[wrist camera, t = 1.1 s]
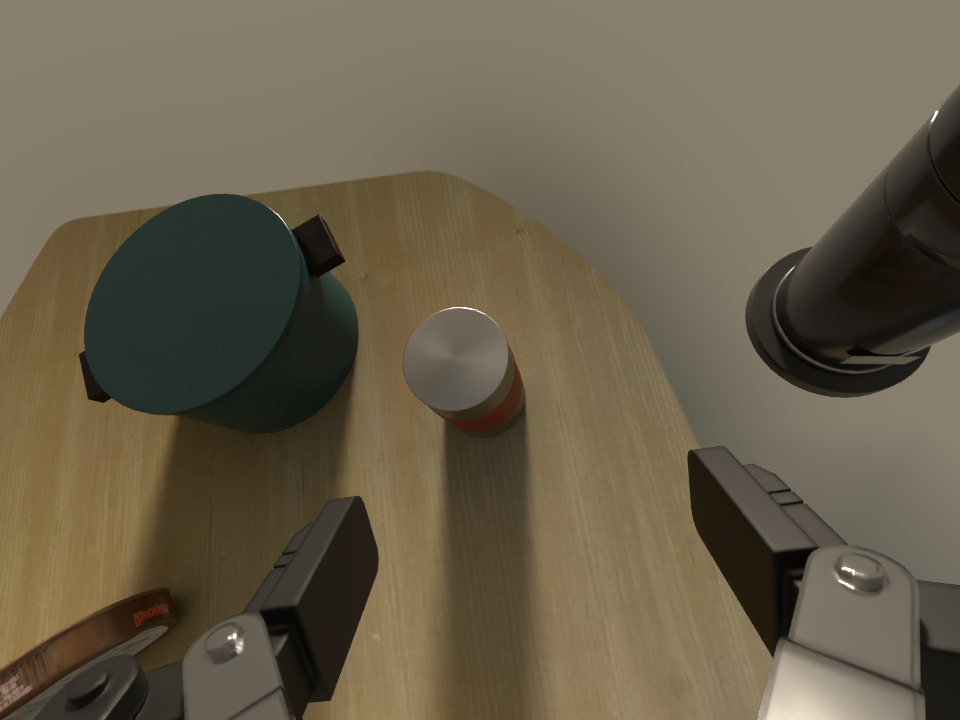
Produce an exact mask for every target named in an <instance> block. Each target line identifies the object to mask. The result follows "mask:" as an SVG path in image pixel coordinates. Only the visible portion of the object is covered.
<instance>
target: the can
mask: <svg viewBox="0 0 960 720" xmlns="http://www.w3.org/2000/svg"><path fill="white" fill-rule="evenodd" d="M403 371H404V376H405V379H406V382H407V384H408V386H409V388H410V389H411V391H412V392H413V393H414V395H415V396H416V397H417V398H418V399H419V400H420V401H422V402H423V403H424V404H426V405H427V406H428V407H430V408H431V409H432V410H433V411H434V412H435V413H437V414H438V415H439V416H441V417H442V418H443V419H445V420H446V421H447V422H449V423H450V424H452V425H453V426H455V427H457V428H458V429H459V430H461V431H462V432H464V433H466V434H468V435H471V436H475V437H491V436H495V435H498V434H500V433H502V432H504V431H506V430H507V429H509V428H510V427H511V426H512V425H513V424H514V423H515V422H516V421H517V419H518V418H519V416H520V414H521V412H522V410H523V407H524V402H525V390H524V385H523V382H522V379H521V376H520V372H519V369H518V367H517V364H516V361H515V359H514V356H513V353H512V351H511V349H510V347H509V345H508V342H507V340H506V337H505V335H504V333H503V331H502V329H501V328H500V327H499V325H498V324H497V323H496V322H495V321H494V320H493V319H492V318H490V317H489V316H488V315H486V314H484V313H482V312H480V311H478V310H474V309H471V308H460V307H457V308H449V309H445V310H442V311H439V312H437V313H435V314H433V315H431V316H429V317H428V318H426V319H425V320H424V321H423V322H421V323H420V324H419V325H418V326H417V328H416V329H415V330H414V331H413V333H412V334H411V336H410V338H409V339H408V342H407V344H406V347H405V351H404V356H403Z"/></svg>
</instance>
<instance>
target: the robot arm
mask: <svg viewBox="0 0 960 720" xmlns="http://www.w3.org/2000/svg"><path fill="white" fill-rule="evenodd" d="M770 318H771V323H772V326H773V329H774V331H775V333H776V335H777V337H778V338H779V340H780V341H781V343H782V344H783V345H784V347H785V348H786V349H787V350H788V351H789V352H790V353H791V354H793V355H794V356H795V357H796V358H798V359H799V360H800V361H802V362H804V363H805V364H807V365H809V366H811V367H813V368H815V369H818V370H820V371H824V372H827V373H831V374H836V375H844V376H858V375H865V374H870V373H874V372H877V371H880V370H882V369H884V368H887V367H889V366H891V365H893V364H906V363H909V362H911V361H913V360H915V359H918V358H920V357H907V356H909V355H911V354H913V353H915V352H918V351H920V350H922V349H924V348H926V347H928V346H931V345H933V344H935V343H937V342H939V341H941V340H943V339H946V338H948V337H950V336H952V335H954V334H956V333H958V332H960V85H959V86H958V87H957V88H956V89H955V90H954V91H953V92H952V93H951V95H950V96H949V97H948V98H947V99H946V100H945V101H944V103H943V104H942V105H941V106H940V107H939V108H938V109H937V111H936V112H935V113H934V114H933V115H932V116H931V117H930V118H929V119H928V120H927V122H926V123H925V124H924V125H923V126H922V127H921V128H920V129H919V130H918V131H917V133H916V134H915V135H914V136H913V137H912V138H911V139H910V141H908V143H907V144H906V145H905V146H904V147H903V148H902V149H901V151H900V152H899V153H898V154H897V155H896V156H895V157H894V159H893V160H892V161H891V162H890V163H889V164H888V165H887V166H886V167H885V168H884V169H883V170H882V172H881V173H880V174H879V175H878V176H877V177H876V178H875V179H874V180H873V181H872V183H871V184H870V185H869V186H868V187H867V188H866V189H865V190H864V191H863V192H862V194H861V195H860V196H859V197H858V198H857V199H856V200H855V201H854V202H853V203H852V205H851V206H850V207H849V208H848V209H847V210H846V211H845V212H844V213H843V214H842V216H841V217H840V218H839V219H838V220H837V221H836V222H835V223H834V224H833V225H832V227H831V228H830V229H829V230H828V231H827V232H826V233H825V234H824V235H823V236H822V238H821V239H820V240H819V241H818V242H817V243H816V244H815V245H814V246H813V247H812V249H811V250H810V251H809V252H808V253H807V254H806V255H805V256H804V257H803V258H802V259H801V260H800V261H799V263H798V264H797V265H796V266H795V267H793V268H792V269H791V270H790V271H789V272H788V273H787V274H786V275H785V276H784V277H783V278H782V279H781V281H780V282H779V283H778V284H777V286H776V288H775V290H774V292H773V294H772V297H771V302H770ZM688 473H689V486H690V499H691V510H692V516H693V520H694V523H695V526H696V529H697V532H698V534H699V536H700V537H701V539H702V541H703V542H704V544H705V546H706V547H707V549H708V551H709V552H710V554H711V556H712V557H713V559H714V561H715V562H716V564H717V566H718V567H719V569H720V571H721V572H722V574H723V576H724V577H725V579H726V581H727V582H728V584H729V586H730V587H731V589H732V591H733V592H734V594H735V596H736V597H737V599H738V601H739V602H740V604H741V606H742V607H743V609H744V611H745V612H746V614H747V616H748V617H749V619H750V621H751V622H752V624H753V626H754V627H755V629H756V631H757V632H758V634H759V636H760V637H761V639H762V641H763V642H764V644H765V646H766V647H767V649H768V651H769V652H770V654H771V656H772V657H773V661H772V665H771V669H770V673H769V676H768V680H767V684H766V688H765V691H764V695H763V699H762V703H761V706H760V710H759V714H758V718H757V720H960V585H953V584H944V583H935V582H927V581H921V580H916V579H915V578H914V576H913V575H912V574H911V573H910V572H909V571H908V570H907V569H906V568H905V567H904V566H902V565H901V564H899V563H898V562H896V561H895V560H893V559H891V558H889V557H887V556H885V555H883V554H881V553H878V552H875V551H873V550H870V549H866V548H862V547H857V546H851V545H848V544H847V543H846V542H845V541H844V540H843V539H842V538H841V537H840V536H839V535H838V534H837V533H836V532H835V531H834V530H833V529H832V528H831V527H830V526H829V525H828V524H827V523H826V522H824V521H823V520H822V519H821V518H820V517H819V516H818V515H817V514H816V513H815V512H814V511H813V510H812V509H811V508H810V507H809V506H808V505H807V504H804V503H803V500H802V499H801V498H800V497H799V496H798V495H796V494H795V493H794V492H791V489H790V488H789V487H788V486H787V485H786V484H785V483H784V482H783V481H782V480H781V479H780V478H779V477H778V476H777V475H776V474H774V473H771V472H769V471H767V470H765V469H763V468H761V467H759V466H757V465H755V464H748V465H742V464H741V463H740V462H739V461H738V460H737V459H736V458H735V457H734V456H733V455H732V454H731V452H730V451H729V450H728V449H727V448H725V447H724V446H717V447H710V448H703V449H696V450H690V451H689V452H688ZM377 571H378V549H377V545H376V542H375V538H374V535H373V531H372V528H371V525H370V521H369V518H368V515H367V511H366V508H365V505H364V502H363V500H362V498H361V497H359V496H353V497H346V498H339V499H332V500H329V501H327V503H326V504H325V506H324V507H323V509H322V511H321V512H320V514H319V515H318V517H317V519H316V520H315V522H311V523H309V524H307V525H306V526H305V527H304V528H303V529H302V530H301V531H299V532H298V533H297V534H296V535H295V536H294V537H293V538H292V539H291V541H290V542H289V544H288V545H287V547H286V548H285V550H284V551H283V552H282V556H280V557H279V558H278V560H277V561H276V563H275V564H274V569H271V570H270V572H269V573H268V575H267V576H266V578H265V579H264V581H263V582H262V584H261V585H260V587H259V588H258V590H257V591H256V593H255V594H254V596H253V597H252V599H251V600H250V602H249V603H248V605H247V606H246V608H245V609H244V611H243V612H242V613H240V614H236V615H233V616H230V617H228V618H226V619H224V620H222V621H220V622H218V623H216V624H215V625H213V626H212V627H210V628H209V629H208V630H206V631H205V632H204V633H203V634H201V635H200V636H199V637H198V638H197V639H196V640H195V642H194V643H193V644H192V645H191V646H190V648H189V649H188V651H187V653H186V655H185V657H184V659H183V660H180V661H177V662H175V663H172V664H169V665H166V666H164V667H161V668H158V669H156V670H153V671H150V672H147V673H145V674H144V673H143V671H142V669H141V667H140V665H139V663H138V661H137V659H136V658H135V657H134V656H131V655H119V656H115V657H111V658H108V659H106V660H103V661H101V662H99V663H97V664H95V665H93V666H91V667H90V668H88V669H86V670H85V671H83V672H82V673H80V674H79V675H77V676H76V677H75V678H73V679H72V680H71V681H69V682H68V683H67V684H66V685H65V686H64V687H63V688H61V689H60V690H59V691H58V692H57V693H56V694H55V696H54V697H53V698H52V699H51V700H50V701H49V702H48V703H47V704H46V706H45V707H44V708H43V709H42V710H41V711H40V712H39V713H38V714H37V716H36V717H35V718H34V719H33V720H303V718H302V716H303V714H304V712H305V709H306V707H307V704H308V703H311V702H322V701H331V698H332V695H333V693H334V690H335V687H336V684H337V682H338V679H339V676H340V673H341V671H342V668H343V665H344V662H345V660H346V657H347V654H348V651H349V649H350V646H351V643H352V640H353V638H354V635H355V632H356V630H357V627H358V624H359V621H360V619H361V616H362V613H363V610H364V608H365V605H366V602H367V599H368V597H369V594H370V591H371V588H372V586H373V583H374V580H375V577H376V575H377Z"/></svg>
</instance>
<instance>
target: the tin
mask: <svg viewBox="0 0 960 720" xmlns="http://www.w3.org/2000/svg"><path fill="white" fill-rule="evenodd" d="M169 594H170V590H169V589H168V588H158V589H153V590H149V591H146V592H143V593H140V594H137V595H134V596H131V597H129V598H126V599H123V600H121V601H119V602H116V603H114V604H112V605H109V606H107V607H104V608H102V609H100V610H98V611H96V612H94V613H92V614H90V615H88V616H86V617H84V618H82V619H80V620H78V621H76V622H74V623H72V624H70V625H69V626H67V627H65V628H63V629H61V630H60V631H58V632H56V633H54V634H53V635H51V636H49V637H48V638H46V639H45V640H43V641H41V642H40V643H38V644H37V645H35V646H34V647H32V648H31V649H29V650H28V651H26V652H25V653H23V654H22V655H21V656H19V657H18V658H16V659H14V660H13V661H11V662H10V663H8V664H7V665H5V666H4V667H3V668H1V669H0V720H33V719H34V718H35V717H36V716H37V714H38V713H39V712H40V711H41V710H42V709H43V708H44V707H45V706H46V704H47V703H48V702H49V701H50V700H51V699H52V698H53V697H54V696H55V694H56V693H57V692H58V691H59V690H60V689H61V688H63V687H64V686H65V685H66V684H67V683H68V682H69V681H71V680H72V679H73V678H75V677H76V676H77V675H79V674H80V673H82V672H83V671H85V670H86V669H88V668H90V667H91V666H93V665H95V664H97V663H99V662H101V661H103V660H106V659H108V658H111V657H115V656H119V655H131V656H134V657H135V656H136V655H138V654H139V653H141V652H142V651H144V650H145V649H146V648H148V647H149V646H151V645H152V644H154V643H155V642H157V641H158V640H159V639H161V638H162V637H163V636H165V635H166V634H167V633H169V632H170V631H171V630H172V629H173V628H174V627H175V626H176V624H177V621H178V620H177V615H176V611H175V609H174V606H173V603H172V600H171V598H170V595H169Z"/></svg>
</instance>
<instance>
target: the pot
mask: <svg viewBox="0 0 960 720" xmlns="http://www.w3.org/2000/svg"><path fill="white" fill-rule="evenodd" d="M344 262H345V259H344V257H343V255H342V253H341V251H340V249H339V247H338V245H337V243H336V241H335V239H334V237H333V235H332V233H331V231H330V229H329V227H328V225H327V223H326V222H325V221H324V220H323V219H322V217H321V216H320V215H317V216H315V217H313V218H311V219H310V220H308V221H306V222H305V223H303V224H301V225H300V226H298V227H296V228H294V229H293V230H291V229H290V227H289V226H288V225H287V224H286V223H285V221H284V220H283V219H282V218H281V217H280V216H279V215H278V214H277V213H276V212H274V211H273V210H272V209H271V208H269V207H268V206H266V205H265V204H263V203H261V202H259V201H257V200H254V199H252V198H249V197H245V196H240V195H234V194H212V195H205V196H200V197H196V198H193V199H189V200H186V201H184V202H181V203H178V204H176V205H174V206H172V207H170V208H168V209H166V210H164V211H162V212H160V213H159V214H157V215H156V216H154V217H153V218H151V219H150V220H148V221H147V222H146V223H144V224H143V225H142V226H141V227H139V228H138V229H137V230H136V231H135V232H134V233H133V234H132V235H131V236H130V237H129V238H127V240H126V241H125V242H124V243H123V244H122V245H121V246H120V247H119V249H118V250H117V251H116V252H115V254H114V255H113V256H112V258H111V259H110V260H109V262H108V263H107V265H106V267H105V268H104V270H103V272H102V273H101V275H100V277H99V279H98V281H97V283H96V285H95V287H94V290H93V293H92V295H91V298H90V301H89V305H88V309H87V313H86V318H85V326H84V345H85V351H84V352H82V353H80V354H79V358H80V363H81V367H82V372H83V377H84V382H85V386H86V391H87V396H88V399H89V400H93V401H97V402H102V403H104V402H106V401H108V400H109V399H111V398H112V399H114V400H115V401H117V402H118V403H120V404H121V405H123V406H126V407H128V408H130V409H133V410H136V411H140V412H144V413H149V414H153V415H176V416H180V417H184V418H188V419H192V420H196V421H200V422H204V423H209V424H213V425H217V426H221V427H225V428H229V429H233V430H237V431H241V432H246V433H257V434H260V433H271V432H275V431H280V430H283V429H286V428H289V427H292V426H294V425H296V424H298V423H300V422H302V421H304V420H305V419H307V418H308V417H310V416H311V415H313V414H314V413H316V412H317V411H318V410H319V409H320V408H322V407H323V406H324V405H325V404H326V403H327V402H328V401H329V400H330V399H331V398H332V396H333V395H334V394H335V393H336V391H337V390H338V389H339V387H340V386H341V384H342V383H343V381H344V379H345V378H346V376H347V374H348V372H349V369H350V367H351V365H352V362H353V359H354V356H355V353H356V347H357V342H358V320H357V315H356V310H355V307H354V304H353V302H352V299H351V297H350V295H349V294H348V292H347V290H346V289H345V288H344V286H343V285H342V284H341V283H340V282H339V281H338V280H337V279H336V278H335V277H334V276H333V275H332V274H331V273H330V272H329V271H330V270H332V269H334V268H335V267H337V266H339V265H341V264H342V263H344Z"/></svg>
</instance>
